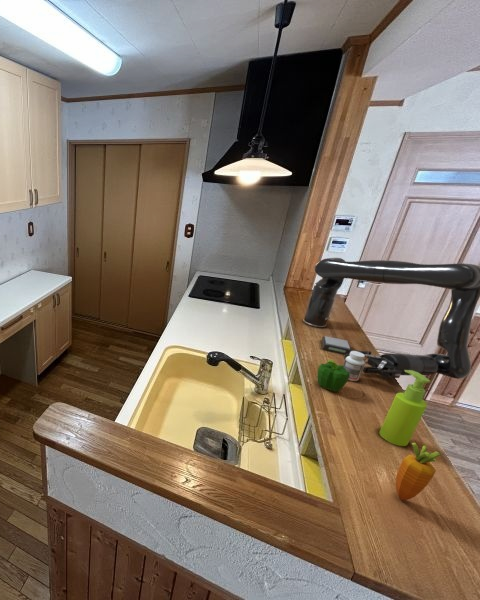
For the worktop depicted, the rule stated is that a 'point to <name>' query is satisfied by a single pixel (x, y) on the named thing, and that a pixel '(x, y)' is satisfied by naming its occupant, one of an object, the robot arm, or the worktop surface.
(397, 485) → the carrot
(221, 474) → the worktop surface
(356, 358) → the pill bottle
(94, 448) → the worktop surface
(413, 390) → the soap dispenser
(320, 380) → the bell pepper
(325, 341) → the scale
